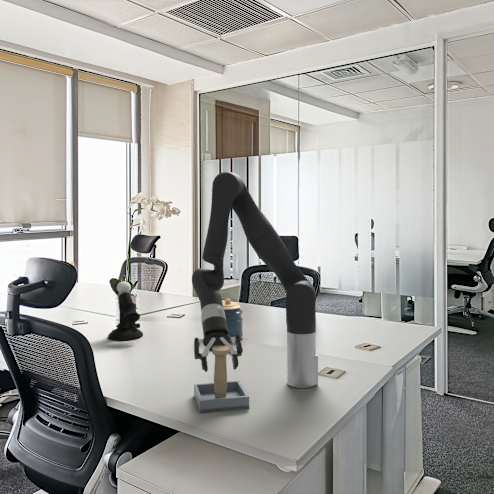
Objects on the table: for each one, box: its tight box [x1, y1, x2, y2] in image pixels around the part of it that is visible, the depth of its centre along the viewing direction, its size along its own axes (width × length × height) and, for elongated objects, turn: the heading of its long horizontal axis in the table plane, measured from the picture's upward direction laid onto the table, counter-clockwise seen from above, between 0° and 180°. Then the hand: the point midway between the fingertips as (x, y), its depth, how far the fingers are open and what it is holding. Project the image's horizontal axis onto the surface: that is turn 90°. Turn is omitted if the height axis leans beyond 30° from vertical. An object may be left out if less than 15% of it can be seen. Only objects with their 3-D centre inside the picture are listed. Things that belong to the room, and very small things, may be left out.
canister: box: [222, 298, 244, 341], centre depth 223 cm, size 13×13×18 cm
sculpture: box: [107, 280, 144, 342], centre depth 224 cm, size 15×24×25 cm, turn 28°
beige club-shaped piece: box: [211, 345, 229, 398], centre depth 149 cm, size 5×6×15 cm
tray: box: [193, 380, 250, 414], centre depth 149 cm, size 14×14×4 cm
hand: (220, 369), depth 147 cm, fingers open, 8 cm apart
